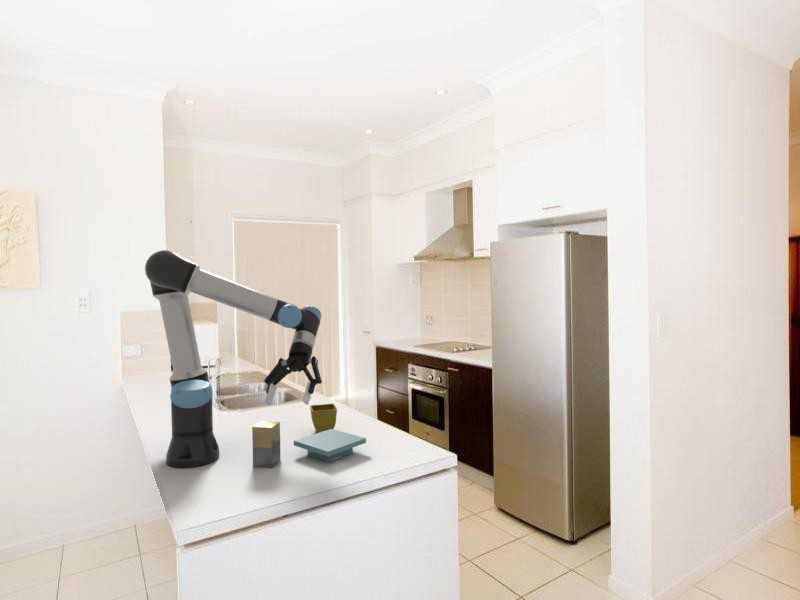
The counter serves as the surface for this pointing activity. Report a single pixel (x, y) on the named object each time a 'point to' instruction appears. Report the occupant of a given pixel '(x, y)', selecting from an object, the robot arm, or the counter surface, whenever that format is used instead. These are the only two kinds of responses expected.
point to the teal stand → (329, 444)
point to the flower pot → (323, 417)
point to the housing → (266, 444)
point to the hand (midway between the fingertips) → (286, 403)
